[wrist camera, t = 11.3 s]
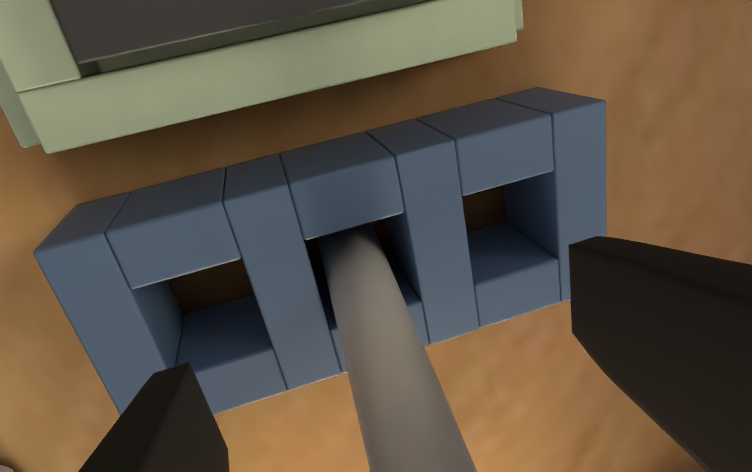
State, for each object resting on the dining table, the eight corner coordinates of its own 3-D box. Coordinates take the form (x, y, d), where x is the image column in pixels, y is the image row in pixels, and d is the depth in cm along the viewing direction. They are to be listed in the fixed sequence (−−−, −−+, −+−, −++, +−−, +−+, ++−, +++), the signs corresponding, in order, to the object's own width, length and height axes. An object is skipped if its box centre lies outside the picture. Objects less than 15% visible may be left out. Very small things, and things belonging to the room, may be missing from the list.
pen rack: (152, 367, 15) (133, 442, 12) (74, 204, 13) (29, 252, 10) (548, 246, 17) (607, 288, 14) (538, 86, 14) (606, 99, 12)
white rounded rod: (322, 256, 15) (417, 668, 7) (309, 210, 14) (401, 618, 6) (374, 242, 15) (531, 629, 7) (364, 195, 14) (531, 573, 6)
